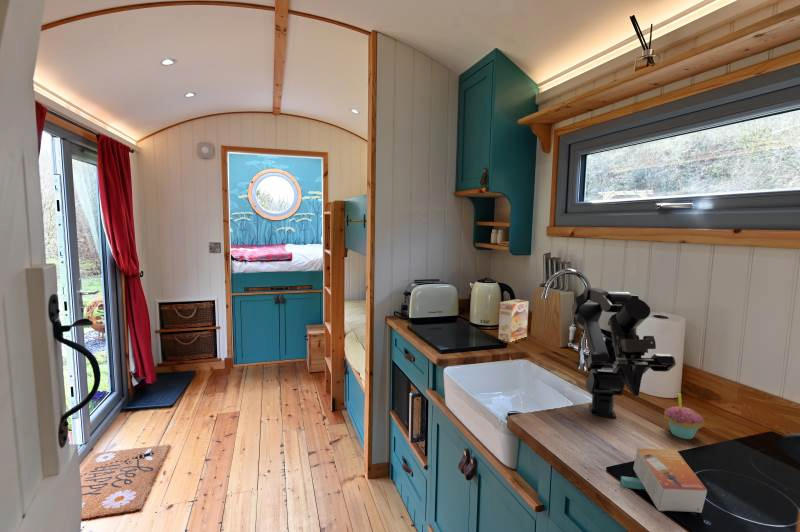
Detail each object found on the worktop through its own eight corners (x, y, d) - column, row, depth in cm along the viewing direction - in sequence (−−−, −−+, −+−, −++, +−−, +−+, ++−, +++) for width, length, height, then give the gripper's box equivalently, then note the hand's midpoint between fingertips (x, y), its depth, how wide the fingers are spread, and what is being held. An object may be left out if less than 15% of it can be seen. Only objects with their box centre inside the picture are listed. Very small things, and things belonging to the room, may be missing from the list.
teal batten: (620, 482, 85) (621, 476, 85) (684, 490, 83) (684, 484, 83) (623, 487, 84) (623, 480, 84) (687, 495, 81) (688, 488, 81)
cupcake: (684, 444, 101) (688, 398, 100) (654, 428, 109) (657, 385, 108) (710, 440, 104) (714, 395, 103) (679, 425, 112) (682, 382, 111)
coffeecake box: (510, 345, 187) (512, 304, 186) (497, 342, 193) (499, 301, 191) (527, 340, 197) (529, 300, 196) (514, 337, 203) (516, 298, 201)
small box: (675, 448, 84) (709, 490, 74) (671, 470, 86) (703, 513, 76) (636, 447, 85) (663, 488, 75) (632, 468, 86) (658, 511, 76)
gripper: (591, 322, 101) (601, 385, 93) (675, 323, 97) (693, 389, 89) (583, 339, 110) (591, 397, 102) (660, 340, 106) (675, 401, 98)
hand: (636, 396), depth 97 cm, fingers closed
